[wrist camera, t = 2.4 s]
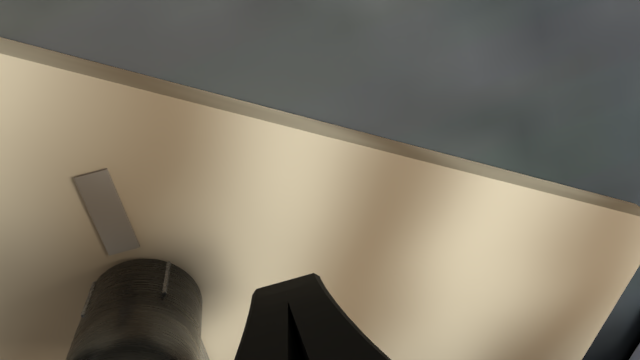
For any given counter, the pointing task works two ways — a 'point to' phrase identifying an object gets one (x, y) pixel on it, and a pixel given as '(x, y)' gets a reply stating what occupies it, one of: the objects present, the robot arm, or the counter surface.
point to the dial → (141, 315)
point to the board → (286, 220)
